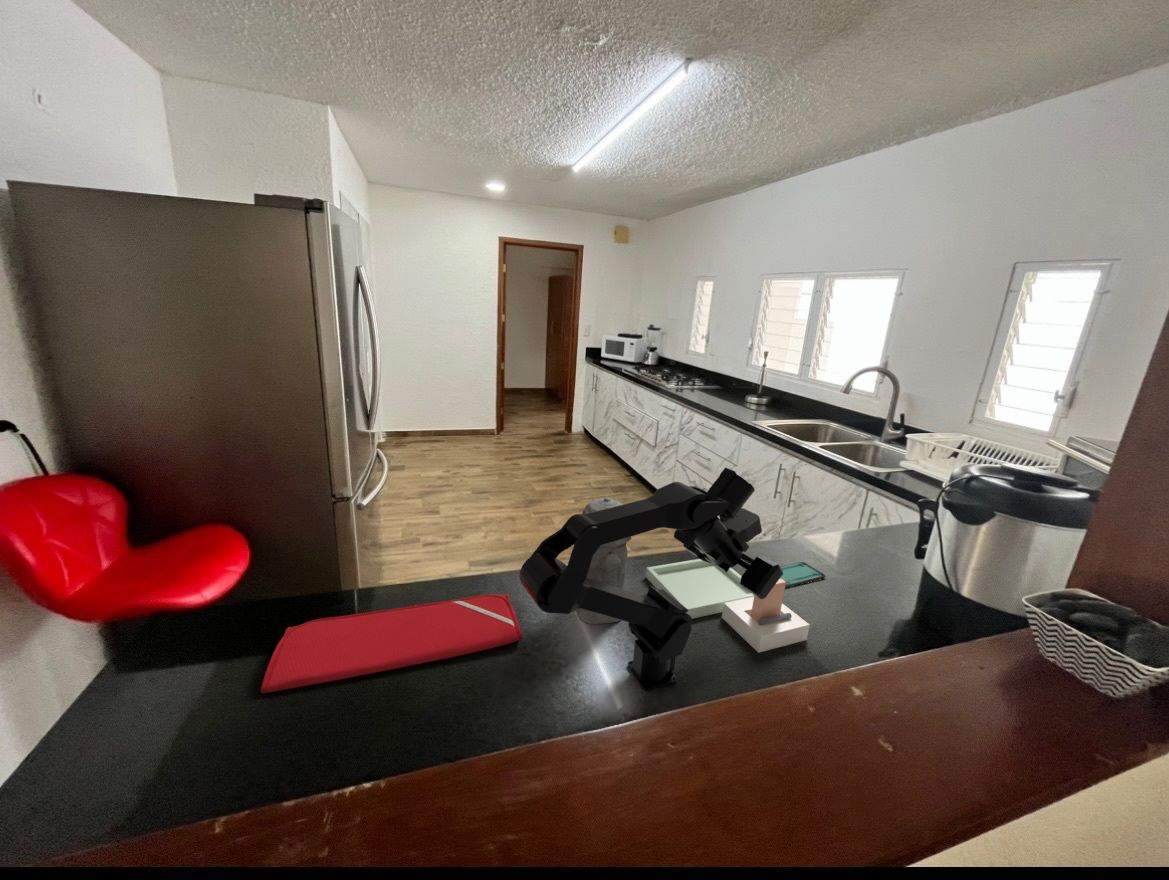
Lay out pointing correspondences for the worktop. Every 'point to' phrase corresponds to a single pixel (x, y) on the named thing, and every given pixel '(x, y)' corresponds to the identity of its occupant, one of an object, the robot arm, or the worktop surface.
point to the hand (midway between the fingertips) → (747, 578)
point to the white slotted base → (765, 625)
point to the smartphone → (800, 574)
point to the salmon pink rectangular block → (769, 602)
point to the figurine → (606, 563)
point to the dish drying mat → (389, 640)
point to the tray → (698, 585)
